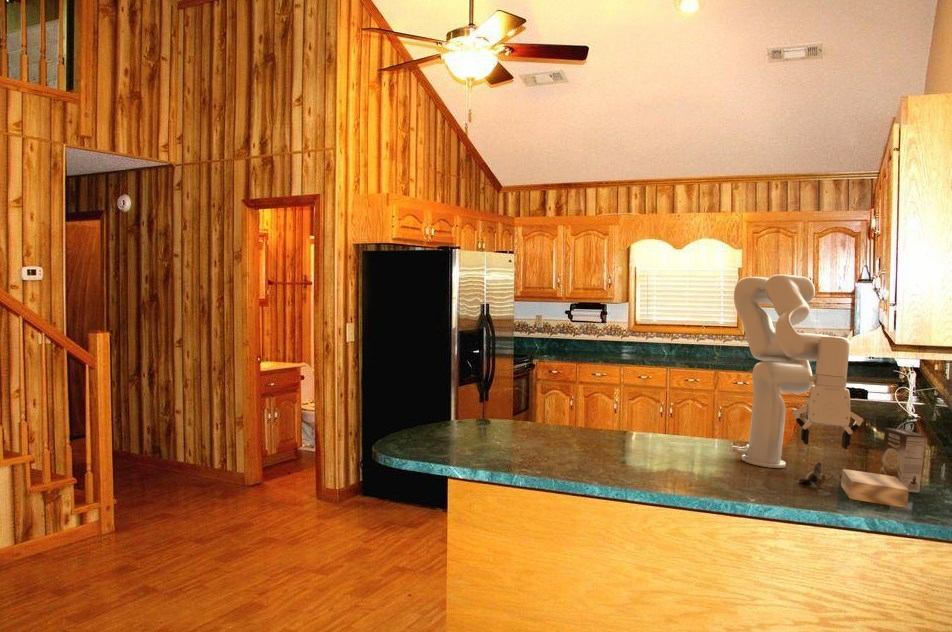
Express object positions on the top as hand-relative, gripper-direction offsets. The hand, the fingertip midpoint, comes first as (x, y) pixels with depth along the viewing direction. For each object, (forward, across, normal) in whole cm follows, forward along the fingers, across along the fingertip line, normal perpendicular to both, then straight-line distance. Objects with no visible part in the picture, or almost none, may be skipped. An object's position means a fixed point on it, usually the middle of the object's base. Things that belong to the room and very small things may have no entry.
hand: (824, 445), depth 190 cm
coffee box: (+12, +24, +18) cm, 32 cm away
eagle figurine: (+12, -1, +3) cm, 13 cm away
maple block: (+12, +13, +2) cm, 18 cm away
